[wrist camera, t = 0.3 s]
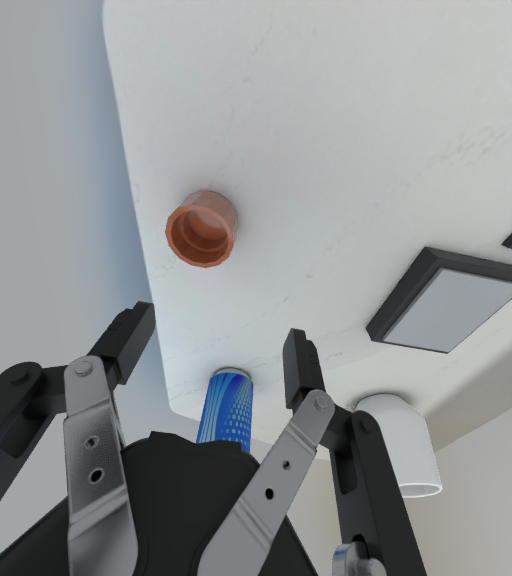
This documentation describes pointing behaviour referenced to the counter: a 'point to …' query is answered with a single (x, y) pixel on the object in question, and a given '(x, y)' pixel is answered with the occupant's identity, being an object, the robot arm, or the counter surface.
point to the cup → (405, 444)
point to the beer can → (227, 408)
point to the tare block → (508, 242)
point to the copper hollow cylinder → (203, 229)
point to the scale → (441, 301)
